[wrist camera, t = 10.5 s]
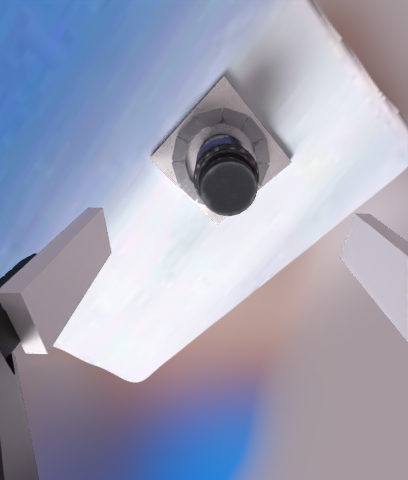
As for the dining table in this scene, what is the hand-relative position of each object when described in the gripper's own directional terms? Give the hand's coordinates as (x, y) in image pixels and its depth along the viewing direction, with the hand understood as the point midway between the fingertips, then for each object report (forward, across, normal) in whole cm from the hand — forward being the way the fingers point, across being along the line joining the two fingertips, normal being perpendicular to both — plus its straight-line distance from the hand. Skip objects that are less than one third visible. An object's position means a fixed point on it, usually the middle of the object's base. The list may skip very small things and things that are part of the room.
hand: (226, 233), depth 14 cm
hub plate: (+20, 0, 0) cm, 20 cm away
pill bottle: (+19, +1, 0) cm, 19 cm away
